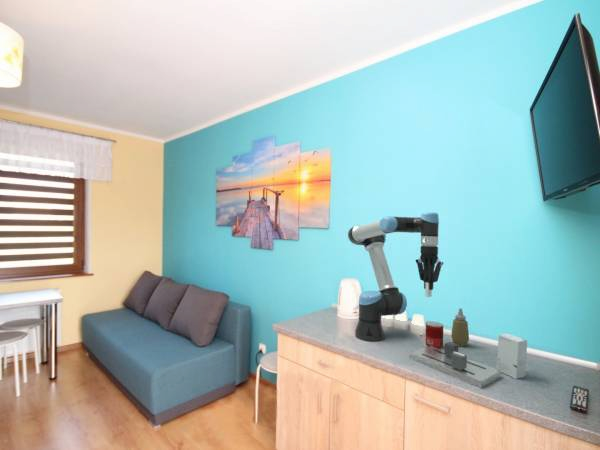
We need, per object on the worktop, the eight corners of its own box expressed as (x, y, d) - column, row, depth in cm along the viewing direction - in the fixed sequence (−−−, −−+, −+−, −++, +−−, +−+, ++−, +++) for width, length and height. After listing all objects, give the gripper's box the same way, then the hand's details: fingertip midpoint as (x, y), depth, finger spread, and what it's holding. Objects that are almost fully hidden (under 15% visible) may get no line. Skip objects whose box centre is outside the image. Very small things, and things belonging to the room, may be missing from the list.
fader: (451, 366, 121) (451, 352, 121) (456, 364, 124) (456, 350, 124) (461, 370, 118) (461, 356, 118) (466, 367, 120) (466, 354, 120)
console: (409, 358, 135) (409, 340, 135) (430, 351, 144) (430, 334, 144) (481, 388, 111) (481, 366, 111) (500, 377, 120) (501, 357, 120)
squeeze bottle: (452, 346, 151) (453, 309, 151) (449, 340, 159) (450, 306, 159) (470, 348, 149) (471, 311, 149) (466, 342, 157) (467, 307, 157)
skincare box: (496, 370, 126) (496, 334, 126) (505, 368, 128) (506, 332, 128) (517, 379, 118) (518, 341, 118) (527, 377, 120) (527, 339, 120)
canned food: (444, 349, 147) (445, 326, 147) (427, 347, 148) (427, 325, 149) (440, 343, 154) (441, 321, 155) (424, 342, 156) (424, 320, 156)
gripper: (412, 245, 145) (411, 294, 145) (437, 246, 135) (437, 300, 134) (421, 244, 150) (420, 293, 149) (447, 246, 139) (446, 298, 138)
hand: (428, 296), depth 142 cm, fingers closed
